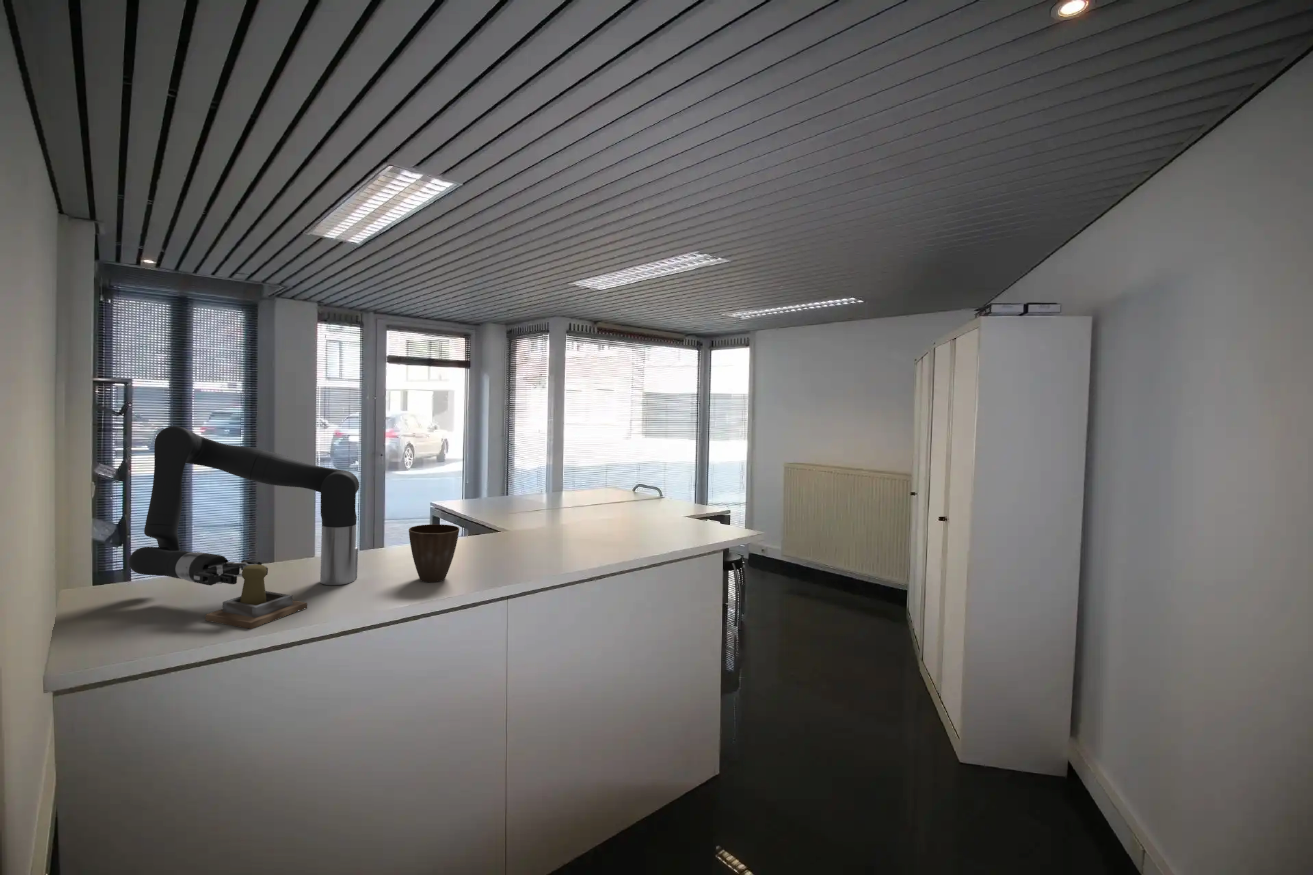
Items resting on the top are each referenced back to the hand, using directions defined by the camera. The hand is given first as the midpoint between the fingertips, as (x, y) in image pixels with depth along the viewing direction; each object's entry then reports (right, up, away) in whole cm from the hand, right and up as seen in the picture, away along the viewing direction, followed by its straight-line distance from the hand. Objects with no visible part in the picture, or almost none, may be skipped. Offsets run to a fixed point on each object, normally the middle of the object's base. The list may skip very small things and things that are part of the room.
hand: (251, 575), depth 152 cm
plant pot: (+32, -10, +37) cm, 50 cm away
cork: (+1, -8, -1) cm, 8 cm away
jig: (+2, -10, 0) cm, 10 cm away
